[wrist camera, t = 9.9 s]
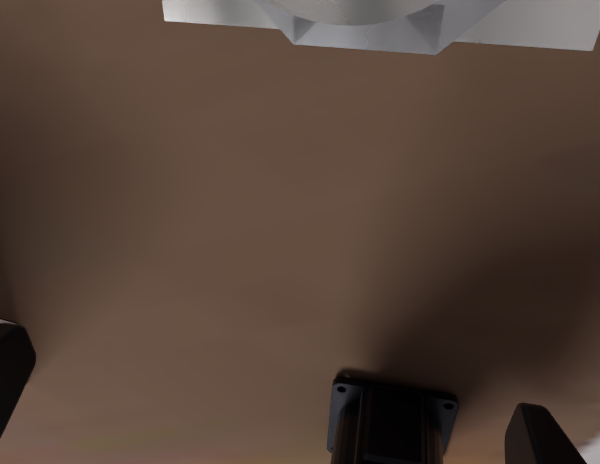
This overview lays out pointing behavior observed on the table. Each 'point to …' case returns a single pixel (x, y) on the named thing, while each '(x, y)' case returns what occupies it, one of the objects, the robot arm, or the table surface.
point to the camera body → (416, 24)
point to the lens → (351, 10)
